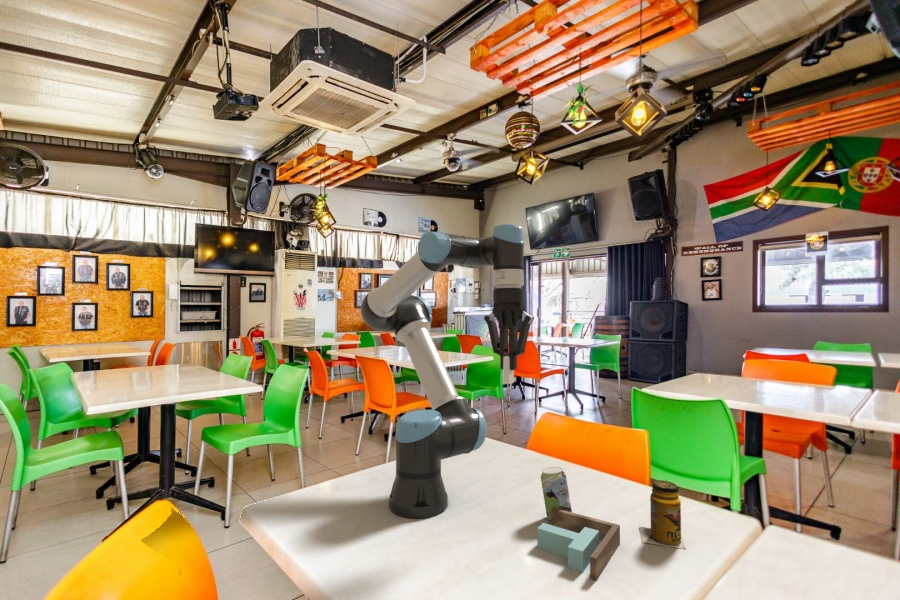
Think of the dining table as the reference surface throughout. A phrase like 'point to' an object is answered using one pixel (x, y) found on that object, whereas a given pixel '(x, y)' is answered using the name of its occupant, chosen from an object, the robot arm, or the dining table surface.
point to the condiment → (664, 516)
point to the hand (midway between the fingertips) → (508, 383)
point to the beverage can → (555, 490)
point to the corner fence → (607, 530)
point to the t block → (569, 544)
